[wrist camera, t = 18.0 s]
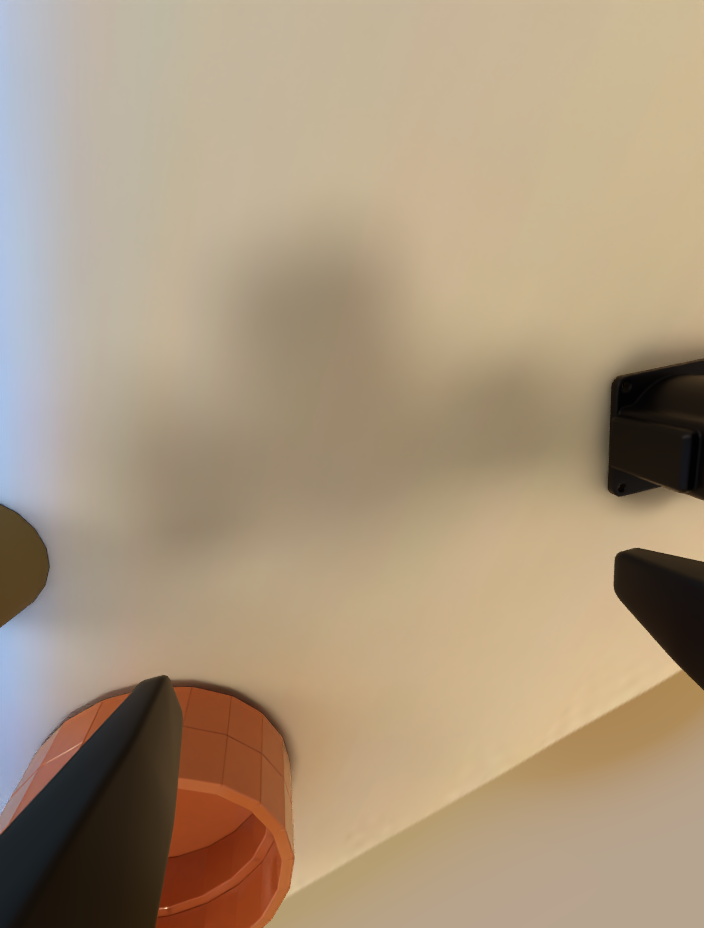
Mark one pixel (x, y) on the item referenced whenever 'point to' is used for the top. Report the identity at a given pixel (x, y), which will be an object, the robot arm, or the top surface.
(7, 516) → the cork
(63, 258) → the top surface
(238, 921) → the orange brown bowl
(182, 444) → the top surface
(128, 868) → the robot arm
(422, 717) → the top surface
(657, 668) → the top surface
